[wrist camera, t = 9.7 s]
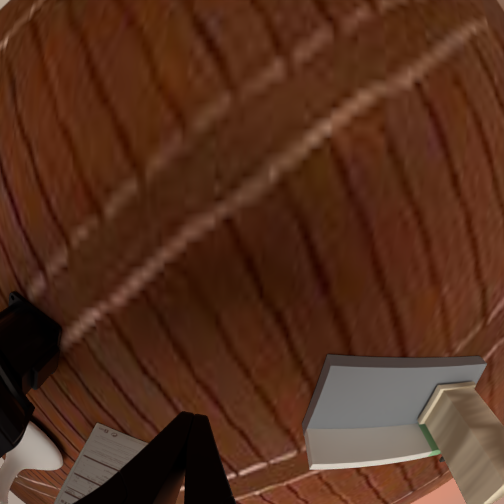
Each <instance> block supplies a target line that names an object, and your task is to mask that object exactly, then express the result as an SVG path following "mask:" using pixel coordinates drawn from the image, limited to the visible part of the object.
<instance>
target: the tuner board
mask: <svg viewBox="0 0 504 504" xmlns="http://www.w3.org/2000/svg"><path fill="white" fill-rule="evenodd" d="M486 365H487V363H486V362H485V361H484V360H483V359H482V358H481V357H480V356H470V357H444V358H390V357H362V356H344V355H330V354H327V357H326V360H325V363H324V366H323V369H322V371H321V374H320V377H319V380H318V383H317V386H316V388H315V391H314V394H313V397H312V399H311V402H310V405H309V407H308V410H307V412H306V415H305V418H304V420H303V423H302V427H303V434H304V436H305V442H306V449H307V455H308V462H309V469H340V468H354V467H365V466H375V465H383V464H390V463H396V462H403V461H408V460H414V459H419V458H424V457H429V456H433V455H437V454H441V452H440V450H439V448H438V446H437V445H436V443H435V441H434V439H433V437H432V435H431V434H430V432H429V430H428V428H427V426H426V425H425V424H419V423H418V421H417V420H418V418H419V417H420V415H421V414H422V412H423V410H424V409H425V407H426V405H427V404H428V402H429V400H430V398H431V397H432V395H433V393H434V391H435V389H436V388H437V386H438V385H445V384H455V383H464V382H472V381H474V383H475V384H476V383H477V382H478V380H479V378H480V376H481V374H482V372H483V370H484V369H485V367H486Z"/></svg>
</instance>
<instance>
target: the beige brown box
mask: <svg viewBox="0 0 504 504" xmlns="http://www.w3.org/2000/svg"><path fill="white" fill-rule="evenodd" d="M475 386H476V384H475V383H474V381H472V382H464V383H455V384H445V385H438V386H437V388H436V389H435V391H434V393H433V395H432V397H431V398H430V400H429V402H428V404H427V405H426V407H425V409H424V410H423V412H422V414H421V415H420V417H419V418H418V420H417V421H418V423H419V424H425V425H426V426H427V428H428V430H429V432H430V434H431V435H432V437H433V439H434V441H435V443H436V445H437V446H438V448H439V450H440V452H441V454H442V457H441V458H440V460H439V461H440V462H443V461H446V463H447V465H448V467H449V469H450V471H451V473H452V475H453V477H454V479H455V481H456V483H457V485H458V487H459V489H460V491H461V493H462V495H463V497H464V500H465V502H466V503H467V504H492V503H494V502H495V501H497V500H499V499H501V498H502V497H503V496H504V426H503V425H502V424H501V423H500V421H499V420H498V419H497V417H496V416H495V415H494V413H493V412H492V411H491V410H490V408H489V407H488V406H487V404H486V403H485V402H484V401H483V399H482V398H481V397H480V396H479V395H478V393H477V392H476V391H475V390H474V388H475Z"/></svg>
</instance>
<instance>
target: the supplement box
mask: <svg viewBox="0 0 504 504" xmlns="http://www.w3.org/2000/svg"><path fill="white" fill-rule="evenodd" d="M147 444H148V443H146V442H143V441H141V440H138V439H136V438H133V437H131V436H128V435H126V434H123V433H121V432H118V431H116V430H114V429H111V428H109V427H107V426H105V425H102V424H100V423H97V424H96V425H95V427H94V429H93V431H92V433H91V434H90V436H89V438H88V440H87V442H86V444H85V445H84V447H83V449H82V451H81V453H80V454H79V456H78V458H77V460H76V462H75V464H74V465H73V467H72V469H71V471H70V473H69V475H68V477H67V478H66V480H65V482H64V484H63V486H62V488H61V490H60V492H59V494H58V496H57V498H56V500H55V502H54V504H72V503H74V502H76V501H77V500H79V499H81V498H82V497H84V496H86V495H87V494H89V493H91V492H92V491H94V490H95V489H97V488H98V487H100V486H101V485H102V484H103V483H105V482H106V481H107V480H108V479H110V478H111V477H112V476H113V475H114V474H115V473H117V472H118V471H119V470H120V469H121V468H122V467H123V466H125V465H126V464H127V463H128V462H129V461H130V460H131V459H132V458H133V457H134V456H135V455H137V454H138V453H139V452H140V451H141V450H142V449H143V448H144V447H145V446H146V445H147ZM119 472H120V471H119Z"/></svg>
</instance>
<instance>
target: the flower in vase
mask: <svg viewBox="0 0 504 504" xmlns="http://www.w3.org/2000/svg"><path fill="white" fill-rule="evenodd" d="M62 465H63V459H62V455H61V453H60V451H59V450H58V448H57V447H56V445H55V444H54V443H53V442H52V441H51V440H50V438H49V437H48V436H47V435H46V434H45V433H44V432H43V431H42V430H41V429H40V428H38V427H37V426H36V425H35V424H34V423H32V422H31V421H29V423H28V426H27V428H26V431H25V433H24V436H23V438H22V440H21V442H20V443H19V444H18V445H17V446H16V447H15V448H14V449H13V450H11V451H9V452H7V453H6V459H5V461H4V463H3V465H2V466H1V468H0V504H8V492H9V489H10V486H11V484H12V482H13V480H14V478H15V477H16V475H17V474H18V473H19V472H20V471H21V470H23V469H39V470H56V469H58V468H60V467H61V466H62Z"/></svg>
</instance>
